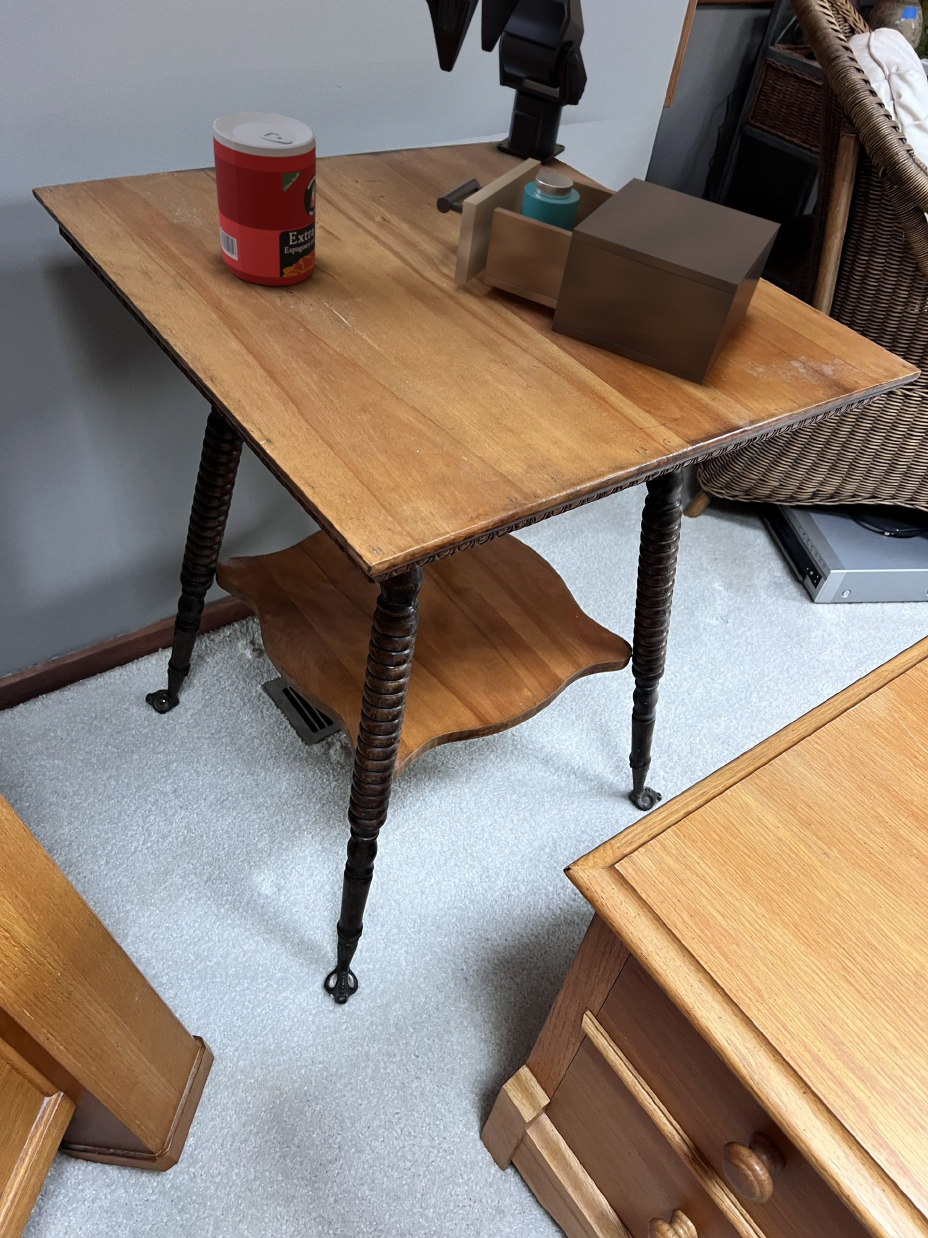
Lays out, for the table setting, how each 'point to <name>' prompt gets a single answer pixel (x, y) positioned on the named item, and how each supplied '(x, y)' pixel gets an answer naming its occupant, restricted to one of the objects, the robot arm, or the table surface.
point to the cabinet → (662, 277)
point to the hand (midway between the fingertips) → (467, 60)
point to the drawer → (514, 234)
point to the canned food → (266, 196)
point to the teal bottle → (551, 200)
